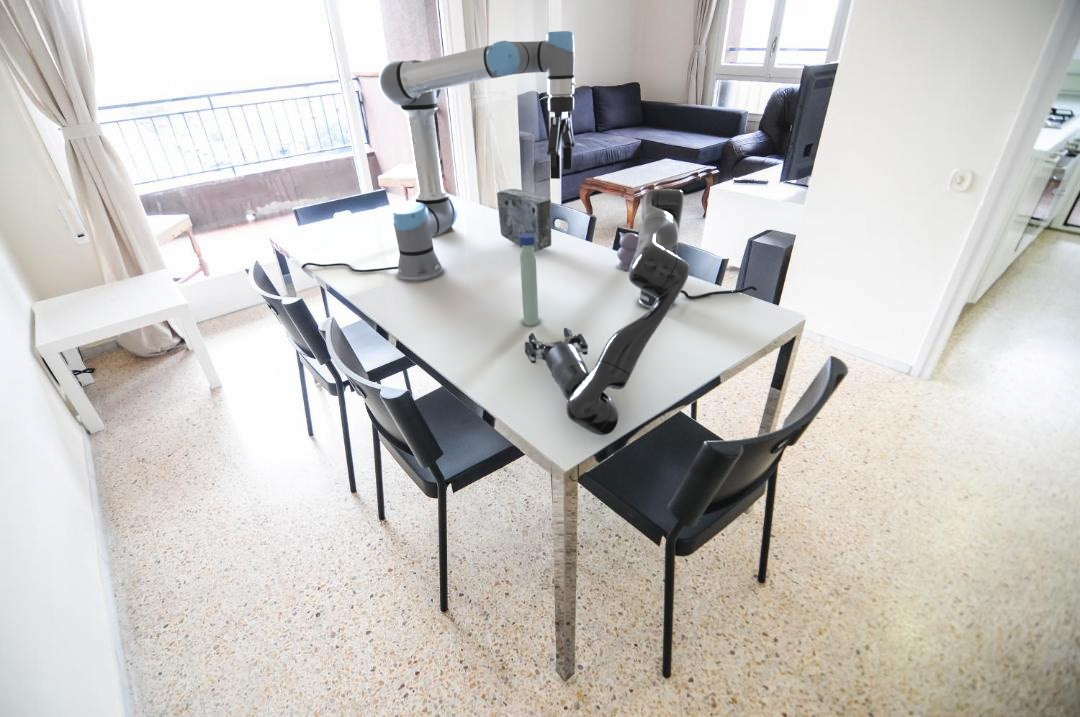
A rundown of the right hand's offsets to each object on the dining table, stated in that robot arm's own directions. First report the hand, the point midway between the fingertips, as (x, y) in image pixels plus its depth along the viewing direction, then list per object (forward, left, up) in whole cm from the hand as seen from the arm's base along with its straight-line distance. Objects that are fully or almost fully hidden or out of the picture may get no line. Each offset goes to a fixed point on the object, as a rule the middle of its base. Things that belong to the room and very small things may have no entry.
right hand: (548, 333), depth 122 cm
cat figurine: (-42, -49, -6) cm, 65 cm away
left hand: (-18, -49, +27) cm, 59 cm away
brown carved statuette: (+18, -114, -6) cm, 116 cm away
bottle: (0, -19, -6) cm, 20 cm away
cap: (0, -19, +19) cm, 27 cm away
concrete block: (-14, -83, -6) cm, 84 cm away
